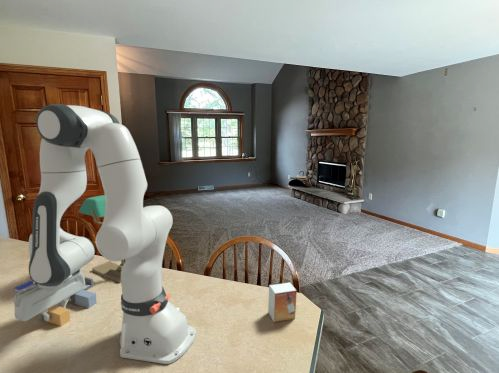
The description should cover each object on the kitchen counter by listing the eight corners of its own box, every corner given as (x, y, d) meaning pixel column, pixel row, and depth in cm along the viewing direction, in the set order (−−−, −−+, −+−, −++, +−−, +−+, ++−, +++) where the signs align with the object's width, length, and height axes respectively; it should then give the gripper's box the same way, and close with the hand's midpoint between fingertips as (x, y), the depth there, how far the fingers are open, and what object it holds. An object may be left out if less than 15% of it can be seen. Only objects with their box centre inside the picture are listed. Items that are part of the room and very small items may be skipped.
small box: (273, 322, 88) (274, 293, 86) (267, 312, 94) (268, 284, 92) (295, 318, 90) (297, 290, 89) (289, 308, 96) (290, 281, 94)
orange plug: (70, 320, 88) (69, 309, 87) (61, 326, 85) (59, 314, 85) (51, 314, 91) (50, 303, 90) (41, 319, 88) (40, 308, 88)
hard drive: (13, 287, 105) (31, 295, 100) (37, 277, 112) (55, 285, 107) (14, 291, 105) (32, 299, 100) (37, 281, 113) (55, 288, 107)
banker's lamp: (111, 287, 108) (104, 202, 102) (82, 274, 118) (74, 196, 112) (144, 271, 121) (139, 195, 115) (115, 260, 131) (109, 190, 125)
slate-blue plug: (96, 303, 97) (95, 293, 97) (89, 308, 95) (88, 297, 94) (78, 298, 100) (77, 288, 100) (70, 302, 98) (69, 292, 97)
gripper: (20, 296, 75) (26, 339, 77) (86, 264, 94) (90, 300, 96) (5, 291, 77) (12, 334, 79) (73, 261, 96) (77, 296, 98)
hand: (55, 315), depth 88 cm, fingers closed on orange plug, 3 cm apart
